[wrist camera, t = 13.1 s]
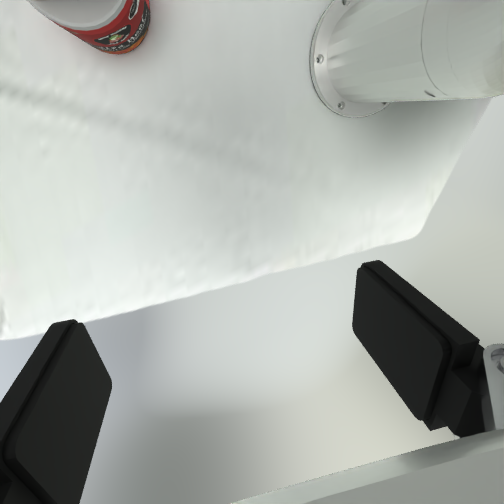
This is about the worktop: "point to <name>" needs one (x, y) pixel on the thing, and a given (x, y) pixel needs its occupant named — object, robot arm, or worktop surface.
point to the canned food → (100, 21)
